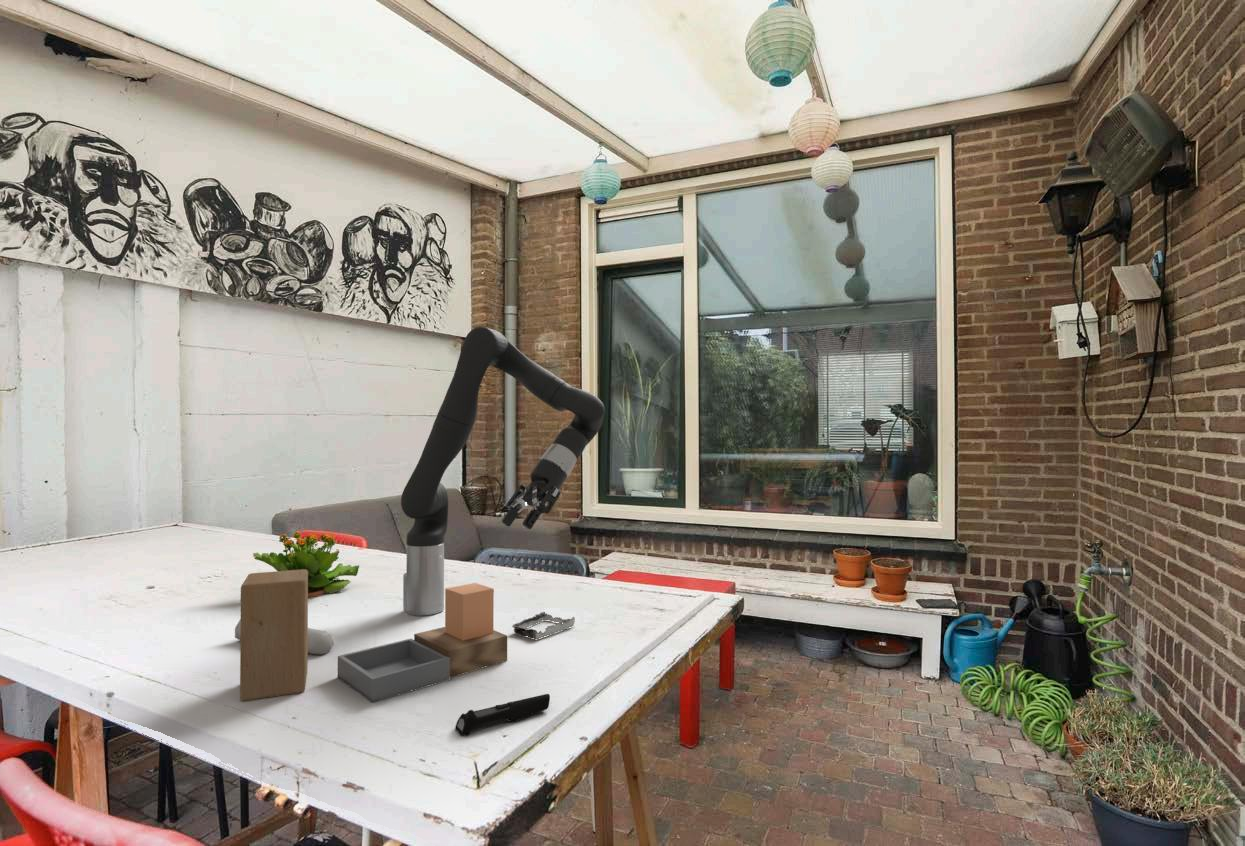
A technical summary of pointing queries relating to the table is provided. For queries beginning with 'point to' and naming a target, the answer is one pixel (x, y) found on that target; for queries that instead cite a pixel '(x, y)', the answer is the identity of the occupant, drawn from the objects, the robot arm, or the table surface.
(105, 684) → the table surface
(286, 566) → the potted flower
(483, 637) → the square wooden plinth
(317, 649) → the tube
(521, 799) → the table surface
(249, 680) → the wooden block
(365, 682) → the box
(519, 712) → the electric trimmer
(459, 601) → the terracotta block
